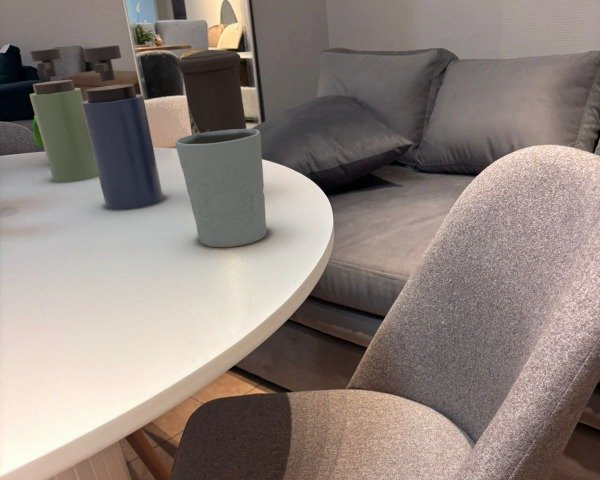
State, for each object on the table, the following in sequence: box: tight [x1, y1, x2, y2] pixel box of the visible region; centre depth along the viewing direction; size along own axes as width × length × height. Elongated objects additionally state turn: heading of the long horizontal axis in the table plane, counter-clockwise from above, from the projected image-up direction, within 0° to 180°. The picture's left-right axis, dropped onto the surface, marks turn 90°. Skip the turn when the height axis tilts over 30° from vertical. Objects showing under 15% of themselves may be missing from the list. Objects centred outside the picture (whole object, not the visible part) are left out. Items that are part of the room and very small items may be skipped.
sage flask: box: [29, 79, 99, 183], centre depth 119 cm, size 9×9×16 cm
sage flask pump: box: [29, 47, 62, 78], centre depth 112 cm, size 8×5×4 cm, turn 7°
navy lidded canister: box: [81, 83, 164, 211], centre depth 97 cm, size 9×9×16 cm
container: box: [177, 49, 247, 135], centre depth 94 cm, size 9×9×20 cm
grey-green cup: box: [174, 128, 268, 248], centre depth 78 cm, size 10×10×12 cm
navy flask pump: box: [82, 44, 122, 82], centre depth 90 cm, size 8×5×4 cm, turn 7°
